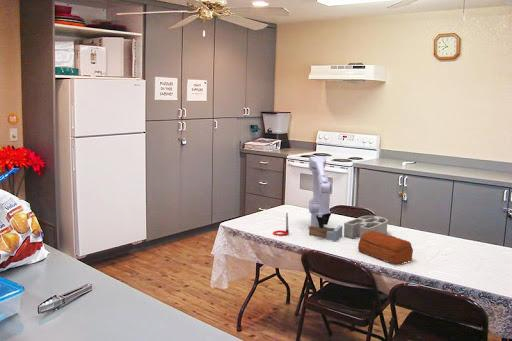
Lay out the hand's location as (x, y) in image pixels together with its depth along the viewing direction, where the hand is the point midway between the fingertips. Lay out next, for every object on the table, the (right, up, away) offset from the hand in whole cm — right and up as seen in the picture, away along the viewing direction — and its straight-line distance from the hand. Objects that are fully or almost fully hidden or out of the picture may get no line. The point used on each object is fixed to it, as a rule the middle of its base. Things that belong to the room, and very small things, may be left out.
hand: (323, 226), depth 281 cm
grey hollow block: (+27, -6, +5) cm, 28 cm away
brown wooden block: (-1, -6, +1) cm, 6 cm away
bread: (+28, -12, -30) cm, 43 cm away
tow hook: (-25, -5, +4) cm, 25 cm away
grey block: (+7, -7, -2) cm, 10 cm away
